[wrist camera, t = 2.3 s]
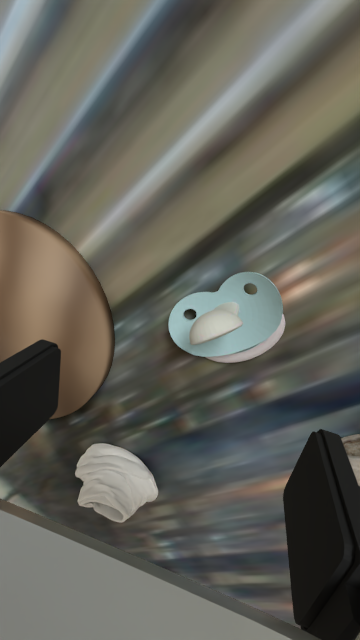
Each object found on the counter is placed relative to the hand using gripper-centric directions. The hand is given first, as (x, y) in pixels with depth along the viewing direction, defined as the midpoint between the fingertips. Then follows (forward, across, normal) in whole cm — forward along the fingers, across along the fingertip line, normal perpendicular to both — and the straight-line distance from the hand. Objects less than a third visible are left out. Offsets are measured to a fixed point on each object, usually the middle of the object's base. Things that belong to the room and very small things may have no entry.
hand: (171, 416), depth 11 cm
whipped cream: (+12, +5, +18) cm, 22 cm away
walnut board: (+12, +16, +5) cm, 21 cm away
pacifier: (+11, -1, 0) cm, 11 cm away
